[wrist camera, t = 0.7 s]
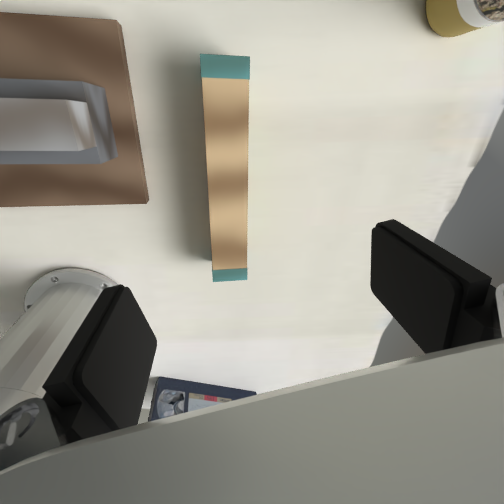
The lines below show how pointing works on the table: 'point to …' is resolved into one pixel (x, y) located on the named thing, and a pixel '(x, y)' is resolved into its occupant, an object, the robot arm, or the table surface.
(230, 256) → the oak beam
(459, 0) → the bark log
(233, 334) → the table surface
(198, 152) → the table surface
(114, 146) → the fulcrum stand
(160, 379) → the vhs cassette tape
